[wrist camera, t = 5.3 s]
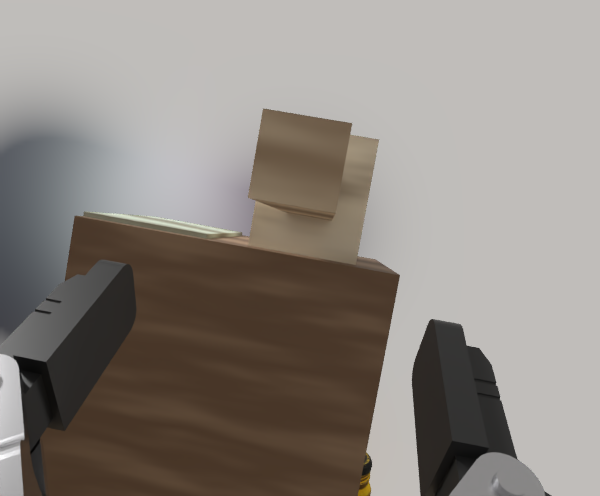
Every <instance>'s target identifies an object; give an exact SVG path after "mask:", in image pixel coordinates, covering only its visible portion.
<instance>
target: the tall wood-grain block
mask: <svg viewBox="0 0 600 496" xmlns="http://www.w3.org/2000/svg"><path fill="white" fill-rule="evenodd" d="M248 243H249V237H248V236H243V235H242V232H237V231H231V230H226V229H220V228H215V227H209V226H203V225H198V224H192V223H187V222H181V221H176V220H170V219H165V218H159V217H151V216H139V215H125V214H111V213H97V212H84V216H75V218H74V224H73V232H72V237H71V244H70V250H69V257H68V263H67V270H66V277H65V281H66V280H68V279H70V278H72V277H74V276H76V275H77V274H79V275H84V276H85V275H86V274H87V273H88V272H89V271H90V269H91V268H92V267H93V266H94V265H95V264H96V263H97V262H98V261H99V260H108V261H114V262H119V263H125V264H129V265H131V267H132V270H133V278H134V287H135V297H136V308H137V310H136V318H135V321H134V324H133V327H132V329H131V331H130V332H129V334H128V335H127V337H126V338H125V340H124V341H123V343H122V344H121V346H120V347H119V349H118V351H117V352H116V354H115V355H114V357H113V358H112V360H111V361H110V363H109V364H108V366H107V367H106V369H105V370H104V372H103V373H102V375H101V376H100V378H99V380H98V381H97V383H96V384H95V386H94V387H93V389H92V390H91V392H90V393H89V395H88V396H87V398H86V399H85V401H84V402H83V404H82V406H81V407H80V409H79V410H78V412H77V413H76V415H75V416H74V418H73V419H72V421H71V422H70V424H69V425H68V427H67V428H66V430H65V431H61V430H56V429H51V428H46V430H45V431H44V433H43V434H42V436H41V439H42V442H43V448H44V457H45V465H46V474H47V483H48V491H49V496H358V492H359V487H360V481H361V476H362V471H363V466H364V460H365V455H366V450H367V444H368V439H369V434H370V429H371V423H372V417H373V413H374V407H375V403H376V397H377V391H378V387H379V382H380V376H381V371H382V366H383V361H384V355H385V350H386V344H387V339H388V335H389V329H390V324H391V319H392V313H393V308H394V303H395V297H396V293H397V287H398V282H399V277H400V275H399V274H397V273H395V272H394V271H392V270H391V269H389V268H388V267H386V266H384V265H383V264H381V263H380V262H378V261H377V260H375V259H369V258H364V257H358V256H357V261H356V265H353V264H348V263H342V262H337V261H332V260H326V259H321V258H315V257H310V256H304V255H299V254H293V253H288V252H282V251H277V250H271V249H266V248H260V247H255V246H249V245H248Z"/></svg>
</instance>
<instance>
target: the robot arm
mask: <svg viewBox="0 0 600 496" xmlns="http://www.w3.org/2000/svg"><path fill="white" fill-rule="evenodd" d="M136 310H137V308H136V297H135V287H134V278H133V270H132V267H131V265H129V264H125V263H119V262H114V261H108V260H99V261H98V262H97V263H96V264H95V265H94V266H93V267H92V268H91V269H90V271H89V272H88V273H87V274H86V275H85V276H84V275H79V274H77V275H76V276H74V277H72V278H70V279H68V280H66V281H65V282H63V283H61V284H59V285H58V286H57V287H56V288H55V289H54V290H53V291H52V292H51V293H50V295H49V296H48V297H47V298H46V301H43V302H42V303H41V304H40V305H39V306H38V307H37V308H36V309H35V312H32V313H31V314H30V315H29V316H28V317H27V318H26V319H25V321H24V322H23V323H22V324H21V325H20V326H19V327H18V328H17V329H16V330H15V331H14V332H13V333H12V334H11V335H10V336H9V337H8V338H7V339H6V340H5V341H4V342H3V344H1V346H0V496H49V491H48V483H47V474H46V465H45V457H44V448H43V442H42V439H41V436H42V434H43V433H44V431H45V430H46V428H51V429H56V430H61V431H65V430H66V428H67V427H68V425H69V424H70V422H71V421H72V419H73V418H74V416H75V415H76V413H77V412H78V410H79V409H80V407H81V406H82V404H83V402H84V401H85V399H86V398H87V396H88V395H89V393H90V392H91V390H92V389H93V387H94V386H95V384H96V383H97V381H98V380H99V378H100V376H101V375H102V373H103V372H104V370H105V369H106V367H107V366H108V364H109V363H110V361H111V360H112V358H113V357H114V355H115V354H116V352H117V351H118V349H119V347H120V346H121V344H122V343H123V341H124V340H125V338H126V337H127V335H128V334H129V332H130V331H131V329H132V327H133V324H134V321H135V318H136ZM412 389H413V402H414V415H415V428H416V440H417V454H418V467H419V480H420V493H421V496H551V495H549V494H548V493H546V492H545V491H544V489H543V487H542V485H541V483H540V481H539V480H538V478H537V477H536V476H535V474H534V473H533V472H532V471H531V470H530V469H529V468H528V467H527V466H526V465H524V464H523V463H522V462H520V461H519V460H518V459H517V456H516V453H515V450H514V446H513V442H512V439H511V435H510V431H509V427H508V424H507V420H506V417H505V413H504V410H503V406H502V402H501V401H500V395H499V391H498V387H497V386H496V380H495V376H494V372H493V369H492V365H491V364H490V362H489V361H488V359H487V358H486V357H485V356H484V354H483V353H482V351H481V350H480V349H479V348H476V347H470V346H467V345H466V341H465V337H464V332H463V328H462V326H461V325H460V324H456V323H451V322H445V321H440V320H434V319H431V320H430V321H429V323H428V326H427V328H426V331H425V334H424V337H423V339H422V342H421V345H420V348H419V350H418V353H417V356H416V359H415V362H414V367H413V373H412Z"/></svg>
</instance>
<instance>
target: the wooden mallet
mask: <svg viewBox="0 0 600 496" xmlns="http://www.w3.org/2000/svg"><path fill="white" fill-rule="evenodd" d="M351 126H352V123H347V122H341V121H334V120H328V119H322V118H316V117H310V116H304V115H298V114H293V113H287V112H281V111H274V110H269V109H263V113H262V119H261V125H260V130H259V137H258V142H257V148H256V154H255V159H254V165H253V171H252V177H251V183H250V189H249V195H248V198H250V199H253V200H256V203H255V208H254V214H253V220H252V226H251V232H250V237H249V243H248V245H249V246H255V247H260V248H266V249H271V250H277V251H282V252H288V253H293V254H299V255H304V256H310V257H315V258H321V259H326V260H332V261H337V262H342V263H348V264H353V265H356V261H357V255H358V250H359V245H360V239H361V234H362V228H363V223H364V217H365V212H366V206H367V202H368V195H369V191H370V185H371V179H372V175H373V169H374V164H375V158H376V153H377V147H378V142H379V140H378V139H372V138H366V137H360V136H354V135H350V132H351Z"/></svg>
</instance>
